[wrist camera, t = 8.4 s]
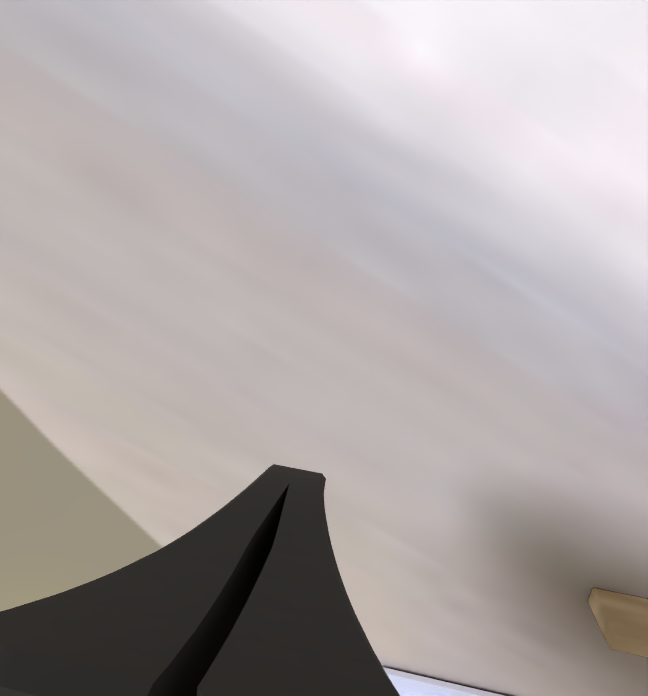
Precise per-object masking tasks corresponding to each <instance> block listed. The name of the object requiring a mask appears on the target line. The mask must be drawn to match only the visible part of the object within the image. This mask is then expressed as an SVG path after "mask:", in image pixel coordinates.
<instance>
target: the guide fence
mask: <svg viewBox="0 0 648 696" xmlns="http://www.w3.org/2000/svg"><path fill="white" fill-rule="evenodd" d="M588 603H589V605H590V607H591V609H592V611H593V613H594V616H595V618H596V620H597V622H598V624H599V626H600V629H601V631H602V633H603V635H604V637H605V639H606V642H607V644H608V646H609V648H610V649H611V650H616V651H620V652H625V653H629V654H634V655H639V656H643V657H648V599H645V598H640V597H635V596H630V595H625V594H621V593H616V592H611V591H606V590H601V589H596V588H593V589H592V592H591V594H590V597H589V599H588Z"/></svg>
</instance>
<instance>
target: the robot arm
mask: <svg viewBox="0 0 648 696" xmlns="http://www.w3.org/2000/svg"><path fill="white" fill-rule="evenodd" d="M325 480H326V478H325V477H324V476H323V474H321V473H316V472H311V471H306V470H301V469H295V468H290V467H285V466H280V465H275V464H274V465H272V466H271V467H269V468H268V469H267V470H266V471H265V472H264V473H263V474H262V475H260V476H259V477H258V478H257V479H256V480H255V481H254V482H253V483H252V484H250V485H249V486H248V487H247V488H246V489H245V490H244V491H242V492H241V493H240V494H239V495H238V496H236V497H235V498H234V499H233V500H231V501H230V502H229V503H228V504H227V505H225V506H224V507H223V508H221V509H220V510H219V511H218V512H216V513H215V514H213V515H212V516H211V517H209V518H208V519H206V520H205V521H204V522H202V523H201V524H199V525H198V526H197V527H195V528H194V529H192V530H191V531H189V532H188V533H186V534H185V535H183V536H181V537H180V538H178V539H177V540H175V541H173V542H172V543H170V544H168V545H167V546H165V547H163V548H161V549H160V550H158V551H156V552H154V553H152V554H150V555H148V556H146V557H144V558H142V559H140V560H138V561H136V562H134V563H132V564H130V565H128V566H126V567H123V568H121V569H119V570H117V571H115V572H113V573H110V574H108V575H106V576H103V577H101V578H98V579H96V580H94V581H91V582H89V583H86V584H83V585H81V586H78V587H75V588H73V589H70V590H67V591H65V592H62V593H59V594H56V595H53V596H50V597H47V598H44V599H41V600H37V601H34V602H31V603H28V604H24V605H21V606H19V607H15V608H12V609H9V610H5V611H1V612H0V696H504V695H500V694H496V693H491V692H487V691H483V690H479V689H474V688H470V687H466V686H461V685H457V684H453V683H449V682H444V681H440V680H436V679H432V678H427V677H423V676H419V675H414V674H410V673H406V672H402V671H397V670H393V669H389V668H385V667H382V665H381V663H380V661H379V660H378V658H377V656H376V654H375V653H374V651H373V649H372V647H371V645H370V643H369V641H368V639H367V637H366V635H365V633H364V631H363V629H362V627H361V625H360V623H359V621H358V619H357V617H356V615H355V612H354V610H353V607H352V605H351V603H350V600H349V598H348V595H347V593H346V590H345V587H344V585H343V582H342V579H341V576H340V573H339V570H338V567H337V564H336V560H335V557H334V553H333V549H332V546H331V541H330V537H329V532H328V527H327V521H326V515H325V507H324V487H325Z"/></svg>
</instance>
